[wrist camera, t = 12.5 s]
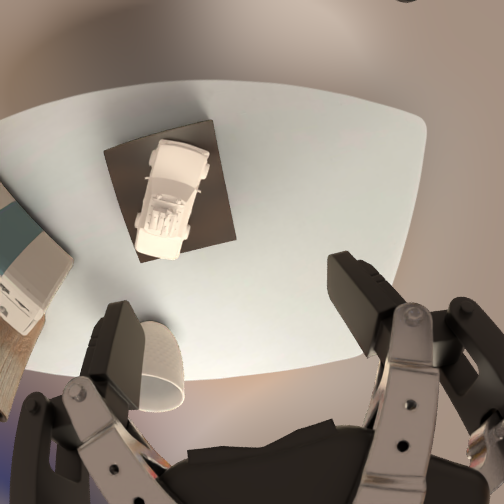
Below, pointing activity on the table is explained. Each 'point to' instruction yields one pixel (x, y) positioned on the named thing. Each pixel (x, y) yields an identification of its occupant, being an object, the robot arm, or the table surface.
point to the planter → (14, 361)
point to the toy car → (169, 198)
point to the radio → (27, 266)
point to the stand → (206, 203)
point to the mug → (161, 370)
